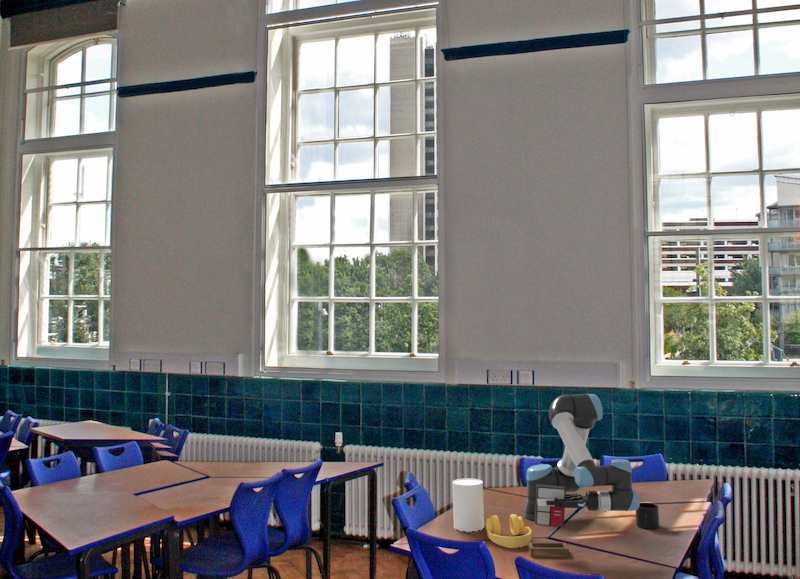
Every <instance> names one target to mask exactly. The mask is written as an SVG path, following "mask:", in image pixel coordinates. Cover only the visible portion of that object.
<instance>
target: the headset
mask: <svg viewBox="0 0 800 579" xmlns="http://www.w3.org/2000/svg"><path fill="white" fill-rule="evenodd" d="M509 527H510V528H509V529H510V532H511V535H512V536H506V535H505V536H504V535H500V534H501V522H500V518H499V516H498V515H497V514H493V515H491V516H490V517H487V518H486V520H485V529H486V532H487V537H488V539H489V540H491V542H493V543H495V545H496V544H497V545H499V546H500V547H501V546H502V547H504V548H509V549H519V548H518V547H520V548H523V547H525V546H527V545H528V542H532V541H531V540H532V529H531V528H530V527H529V526H526V525H525V524H524V519H523V517H522V516H521V515H520V516H518V515H517V514H514V513H512V514H510V515H509ZM523 532H525V533H526V534H524V535H523V534H522V533H523ZM520 534H522V535H520Z"/></svg>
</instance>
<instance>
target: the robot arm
mask: <svg viewBox="0 0 800 579" xmlns="http://www.w3.org/2000/svg"><path fill="white" fill-rule="evenodd" d="M603 411H604V410H603V405H602V402H601V400H600V398H599V396H597V395H596V394H594V393H585V394H584V393H583V394H582V393H581V394H562V395H559V396H557V397H556V398H555V399H554V400H553V401H552V402H551V404H550V406H549V410H548V417H549V420H550V424H551V426H552V427H553V428H554V429H556V430H557V432H558V434H559V436H560V438H561V440H562V442H563V445H564V451H563V455H562V458H561V459H560V460H559V461H558V462H557V465H556V466H555V467H552V465H551V464H547V463H544V464H535V465H532V466H530V467H528V468H527V470H526V489H527V490H526V491H527V493H526V494H527V501H526V504H525V507H524V510H523V511H524V512H523V514H524V518H526V519H527V520H530V521H531V520H532V521H535V505H536V485H537V484H540V485H553V486H564V488H565V490H566V492H565V499H557V498H556V497H555V500H554V499H537V503H538V506H556V507H558V508H565V509H584V508H585V507H586V509H587V510H588V512H598V511H599V512H600V511H601V512H602V511H603V512H604V513H607V512H608V511H609V512H610V511H611V512H613V511H616V512H618V511H619V512H632V511H633V512H634V511H636V510H638V508H639V505H640V503H641V502H640V495H639V493H638V492H637V490H634V489H633V480H632V479H633V478H632V475H633V471H632V465H631V462H630V461H629V460H628V459H624V458H613V459H611V460H610V463H609V464H610V465H597V464H596V462H595V460H594V459H593V457H592V455H591V453H590V451H589V449H588V448H587V442H588V436H589V433H590V430H591V429H593V428H594V427H595V424H596V421H600V420H602V419H603V416H604V412H603ZM608 486H610V487H611V489H612V490H597V491H596V490H586V492H585V495H582V494H581V493H580V494H578V493H577V492H580V491H581V492H582V490H583V489H584V488H592V487H594V488H595V487H608Z"/></svg>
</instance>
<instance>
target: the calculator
mask: <svg viewBox="0 0 800 579" xmlns="http://www.w3.org/2000/svg"><path fill="white" fill-rule="evenodd" d="M565 492H566V490H565V488H564V486H553V485H540V484H537V485H536V505H535V520H534V524H535V525H536V526H545V527H546V526H547V527H556V528H557V527H558V528H559V527H560V528H563V527H565V509H566V508H558V507H556V506H538V503H537V499H554V500H555V497H556V498H557V499H565V494H566V493H565Z"/></svg>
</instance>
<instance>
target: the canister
mask: <svg viewBox="0 0 800 579" xmlns="http://www.w3.org/2000/svg"><path fill="white" fill-rule="evenodd" d="M452 510H453V529H454V528H455V529H454V530H456V529H457V530H456V531H458V530H459V531H458V532H463V531H465V533H471V532H472V531H475V532H479V531H478V530H480V531H482V529H483V528H484V529H485V516H484V515H485V514H484V510H485V509H484V483H483V480H481V479H479V478H471V477H469V478H468V477H465V478H457V479H454V480H452ZM484 529H483V530H484ZM472 533H473V532H472Z"/></svg>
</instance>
